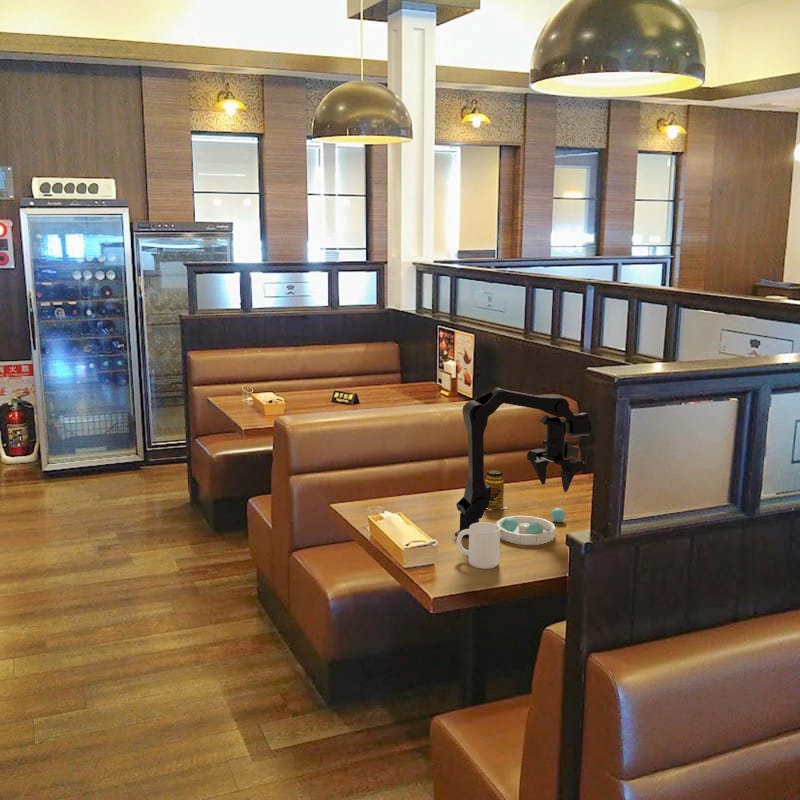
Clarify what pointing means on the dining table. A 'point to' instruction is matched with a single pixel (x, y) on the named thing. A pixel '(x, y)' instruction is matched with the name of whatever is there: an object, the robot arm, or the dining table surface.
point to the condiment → (495, 489)
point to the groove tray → (528, 537)
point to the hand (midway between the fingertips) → (554, 487)
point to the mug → (481, 544)
